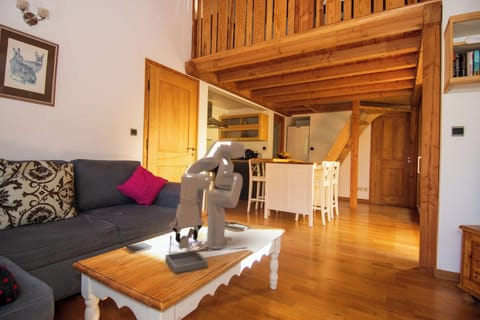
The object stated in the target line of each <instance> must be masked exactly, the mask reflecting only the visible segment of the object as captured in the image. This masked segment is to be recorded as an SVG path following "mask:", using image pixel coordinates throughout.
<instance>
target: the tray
mask: <svg viewBox="0 0 480 320" xmlns="http://www.w3.org/2000/svg"><path fill="white" fill-rule="evenodd" d="M165 263H166V264H167V266H168V267H169V269H170V270H171V271H172V273H173V274H174V275H178V274H183V273H189V272H193V271H199V270H204V269H208V260H207V259H206V258H205V257H203V256H202V255H201V254H200V253H199V252H198V250H196V249H194V250H187V251H182V252H176V253H169V254H165Z"/></svg>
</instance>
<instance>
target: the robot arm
mask: <svg viewBox="0 0 480 320" xmlns="http://www.w3.org/2000/svg"><path fill="white" fill-rule="evenodd" d="M245 152H246V147H245V145H244V144H243V142H239V141H233V140H215V141H213V142H212V144H211V145H210V146H209V148H208V150H207V151H206V153H204V156H203V157H201V158H199V159H198V160H196V161H194V162H193V163H191V164H189V166H188V167H187V168H186V169H185V171H184V173H183V174H182V176H181V178H180V194H179V195H180V196H179V198H180V200H179V203H178V204H177V208H176V211H175V219H174V220H172V222H170V223H169V225H168V226H169V227H170V228H171V229H172V231H174V233H175V238H174V239H175V241H176V243H178V244H179V243H180V238H181V233H180V232H181V230H182V229H186V228H193V229H194V233H193V235H192V239H193V240H194V241H197V240H198V237H199V235H198V234H199V231H200V230H201V229H202V227H203V226H204V224H205V221H204V220H203V219H202V218H201V217H200V209H199V208H200V207H199V204H198V203H200V202H201V201H200V200H201V199H200V198H198V190H200V191H203V190H204V191H205V190H207V189H209V188H210V187H211V184H212V179H211V177H210V176H209V175H208V174H205V173H203V172H206V171H211V170H213V169H215V168H217V167H218V165H219V167H218V170H217V173H216V176H215V179H214V180H215V181H214V185H215V187H217V188H212V189H210V190H209V191H208V193H207V195H206V196H207V197H206V199H207V205H208V209H207V210H208V212H207V213H208V215H207V216H208V218H207V236H206V237H207V239H206V241H205V242H204V245H205V246H207V247H209V248H208V249H210V248H211V249H212V250H222V249H225V248H226V247H227V246H228V245H227V242H229V241H230V242H231V241H232V240H233V238H232V236H229V237H228V236H225V234H226V233H225V230H226V229H225V228H226V211H225V209H224V208H229V209H233V208H236V207H237V205H238V202H239V199H240V195H241V190H242V188H243V182H244V181H243V176H242V175H241V174H240V173H238V172H234V167H235V166H234V163H233V162H232V160H231V158H243V156H244V155H245ZM175 226H176V227H175ZM204 245H203V246H204ZM205 246H204V247H205ZM207 247H206V248H207ZM211 249H210V250H211Z"/></svg>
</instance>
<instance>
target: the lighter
mask: <svg viewBox="0 0 480 320" xmlns="http://www.w3.org/2000/svg"><path fill="white" fill-rule="evenodd" d="M189 228H190V229H189V230H188V233H187V235H181V236H180V243H178V249H180V250H183V249H187V248H189V241H190V239H193V233H194V228H193V227H189Z"/></svg>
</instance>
